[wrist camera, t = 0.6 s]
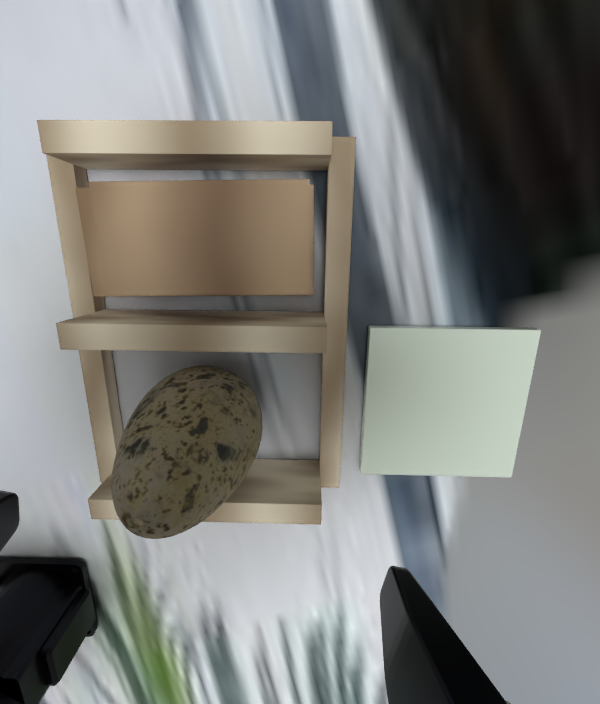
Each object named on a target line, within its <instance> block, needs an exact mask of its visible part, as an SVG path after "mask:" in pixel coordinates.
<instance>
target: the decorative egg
mask: <svg viewBox="0 0 600 704" xmlns="http://www.w3.org/2000/svg"><path fill="white" fill-rule="evenodd" d="M261 436H262V414H261V410H260V406H259V403H258V400H257V398H256V396H255V394H254V393H253V391H252V390H251V388H250V387H249V386H248V384H247V383H246V382H245V381H244V380H242V379H241V378H240V377H238V376H237V375H236V374H234V373H232V372H230V371H228V370H225V369H223V368H219V367H214V366H195V367H190V368H186V369H183V370H180V371H178V372H175V373H173V374H171V375H170V376H168V377H166V378H165V379H163V380H162V381H161V382H159V383H158V384H157V385H156V386H154V387H153V388H152V389H151V390H150V391H149V392H148V393H147V395H146V396H145V397H144V398H143V399H142V401H141V402H140V403H139V405H138V406H137V408H136V409H135V411H134V412H133V414H132V416H131V418H130V419H129V421H128V423H127V426H126V428H125V430H124V432H123V435H122V437H121V440H120V442H119V446H118V449H117V453H116V457H115V460H114V465H113V471H112V482H111V489H112V499H113V504H114V508H115V511H116V513H117V516H118V517H119V519H120V521H121V522H122V523H123V525H124V526H125V527H126V528H127V529H128V530H129V531H130V532H132V533H134V534H136V535H138V536H141V537H144V538H150V539H159V538H166V537H171V536H174V535H177V534H179V533H182V532H184V531H186V530H188V529H190V528H192V527H194V526H195V525H197V524H199V523H200V522H202V521H203V520H205V519H206V518H207V517H209V516H210V515H211V514H212V513H213V512H215V511H216V510H217V509H218V508H219V507H220V506H221V505H222V504H223V503H224V502H225V501H226V500H227V499H228V498H229V497H230V495H231V494H232V493H233V492H234V491H235V490H236V488H237V487H238V486H239V485H240V483H241V482H242V480H243V479H244V478H245V476H246V474H247V473H248V471H249V469H250V468H251V466H252V464H253V462H254V459H255V457H256V454H257V452H258V448H259V445H260V441H261Z"/></svg>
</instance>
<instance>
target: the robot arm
mask: <svg viewBox="0 0 600 704" xmlns="http://www.w3.org/2000/svg"><path fill="white" fill-rule="evenodd" d="M18 525H19V501H18V496H17V495H16V494H15V493H11V492H6V491H0V551H1V550H2V549H3V547H4V546H5V545H6V543H7V542H8V541H9V539H10V538H11V537H12V535H13V534H14V533H15V531H16V529H17V527H18ZM380 610H381V626H382V641H383V657H384V671H385V681H386V689H387V696H388V702H389V704H507V702H506V701H505V700H504V698H502V696H501V694H500V693H499V692H498V690H497V689H496V688H495V686H494V685H493V684H492V682H491V681H490V679H489V678H488V677H487V675H486V674H485V673H484V672H483V670H482V669H481V667H480V666H479V665H478V663H477V662H476V660H475V659H474V658H473V656H472V655H471V654H470V652H469V651H468V650H467V649H466V647H465V646H464V644H463V643H462V642H461V640H460V639H459V638H458V636H457V635H456V633H455V632H454V631H453V629H452V628H451V627H450V625H449V624H448V623H447V621H446V620H445V618H444V617H443V616H442V614H441V613H440V612H439V610H438V609H437V608H436V606H435V605H434V604H433V602H432V601H431V600H430V598H429V597H428V595H427V594H426V593H425V591H424V590H423V589H422V587H421V586H420V585H419V583H418V582H417V581H416V579H415V578H414V577H413V575H412V574H411V572H410V571H409V570H408V569H406V568H402V567H396V566H391V567H390V568H389V569H388V572H387V575H386V577H385V580H384V583H383V586H382V589H381V593H380ZM96 629H97V621H96V616H95V610H94V605H93V600H92V595H91V590H90V585H89V580H88V575H87V570H86V565H85V563H84V562H83V561H81V560H75V559H36V558H0V704H39V703H40V701H41V700H42V698H43V696H44V695H45V693H46V691H47V689H48V688H49V686H55V685H56V684H57V683H58V682H59V681H60V680H61V678H62V676H63V675H64V673H65V671H66V669H67V668H68V666H69V664H70V662H71V661H72V659H73V657H74V656H75V654H76V652H77V650H78V649H79V647H80V645H81V643H82V642H83V640H84V638H85V637H90V636H93V635H94V633H95V631H96Z"/></svg>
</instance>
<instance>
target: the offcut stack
mask: <svg viewBox="0 0 600 704" xmlns="http://www.w3.org/2000/svg"><path fill="white" fill-rule="evenodd" d="M88 184H89V187H84V188H75V191H76V197H77V202H78V208H79V214H80V220H81V226H82V232H83V237H84V243H85V249H86V255H87V261H88V267H89V272H90V278H91V284H92V290H93V296H288V295H313V281H314V185H310V179H273V180H192V181H110V182H88Z"/></svg>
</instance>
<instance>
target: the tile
mask: <svg viewBox="0 0 600 704" xmlns="http://www.w3.org/2000/svg"><path fill="white" fill-rule="evenodd" d="M540 333H541V330H539V329H536V328H519V327H448V326H378V325H369V326H368V342H367V357H366V373H365V389H364V404H363V420H362V435H361V451H360V466H359V469H360V473H361V474H384V475H430V476H477V477H512V472H513V467H514V462H515V457H516V452H517V447H518V442H519V437H520V433H521V427H522V422H523V418H524V413H525V408H526V403H527V398H528V393H529V387H530V383H531V378H532V373H533V368H534V363H535V357H536V352H537V348H538V343H539V338H540Z"/></svg>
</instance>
